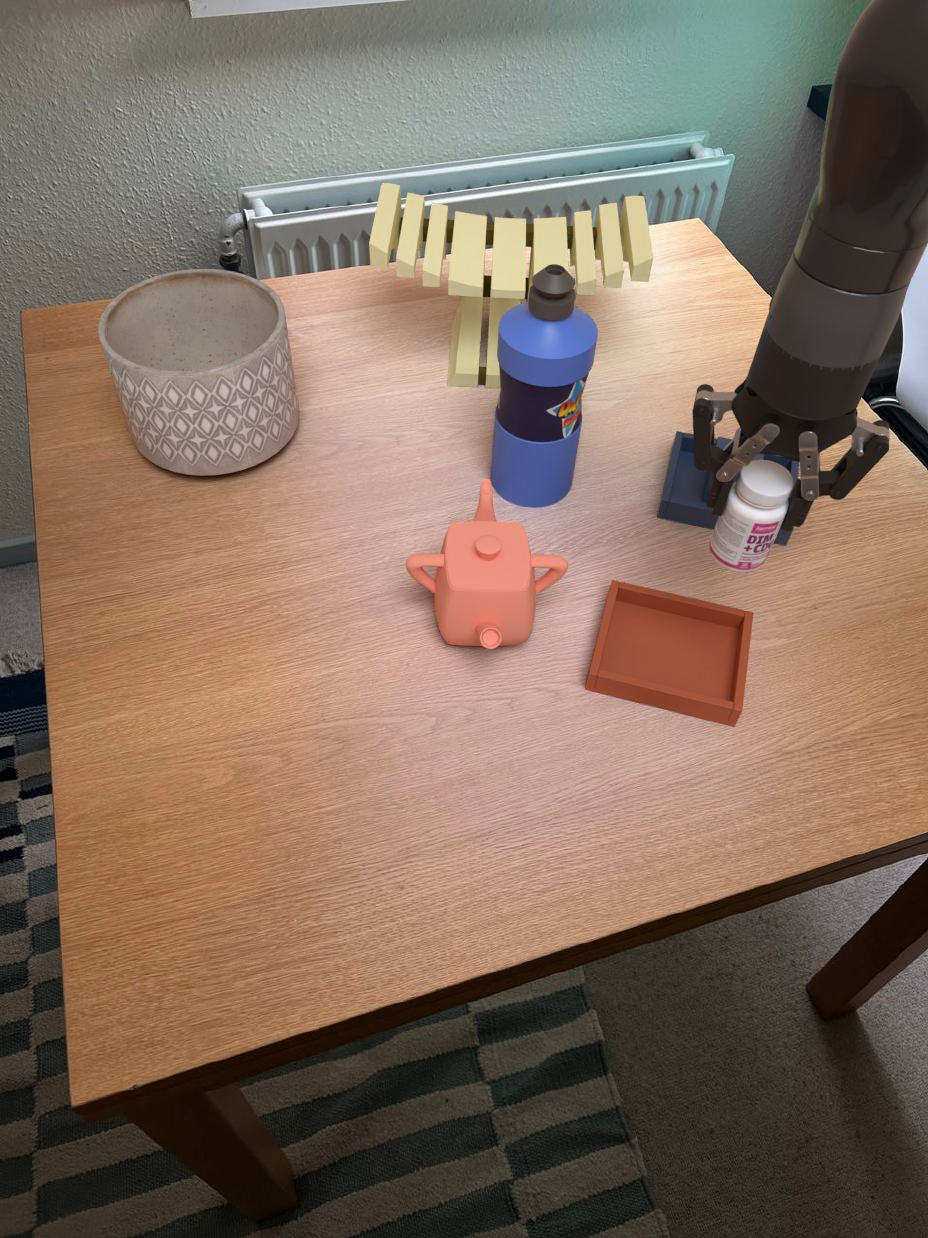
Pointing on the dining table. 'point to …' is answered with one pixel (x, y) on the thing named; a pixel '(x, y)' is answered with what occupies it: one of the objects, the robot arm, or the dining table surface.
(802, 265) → the robot arm
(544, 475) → the water bottle
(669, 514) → the blue tray
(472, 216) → the slatted curved stool
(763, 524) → the pill bottle
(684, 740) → the dining table surface
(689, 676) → the terracotta tray
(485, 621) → the teapot
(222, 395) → the planter
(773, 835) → the dining table surface
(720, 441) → the blue block
